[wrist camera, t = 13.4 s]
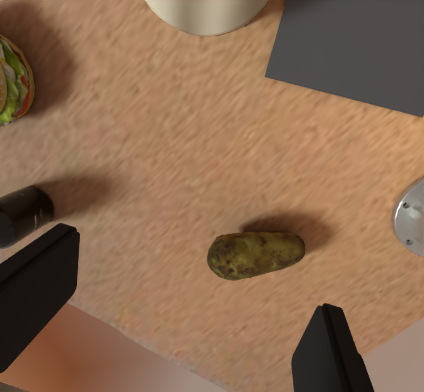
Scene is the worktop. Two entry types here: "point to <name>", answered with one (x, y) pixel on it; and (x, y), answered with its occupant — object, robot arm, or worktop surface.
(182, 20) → the lid
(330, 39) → the mat
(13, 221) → the supplement bottle
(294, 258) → the potato
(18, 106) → the food
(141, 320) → the worktop surface
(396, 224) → the robot arm
